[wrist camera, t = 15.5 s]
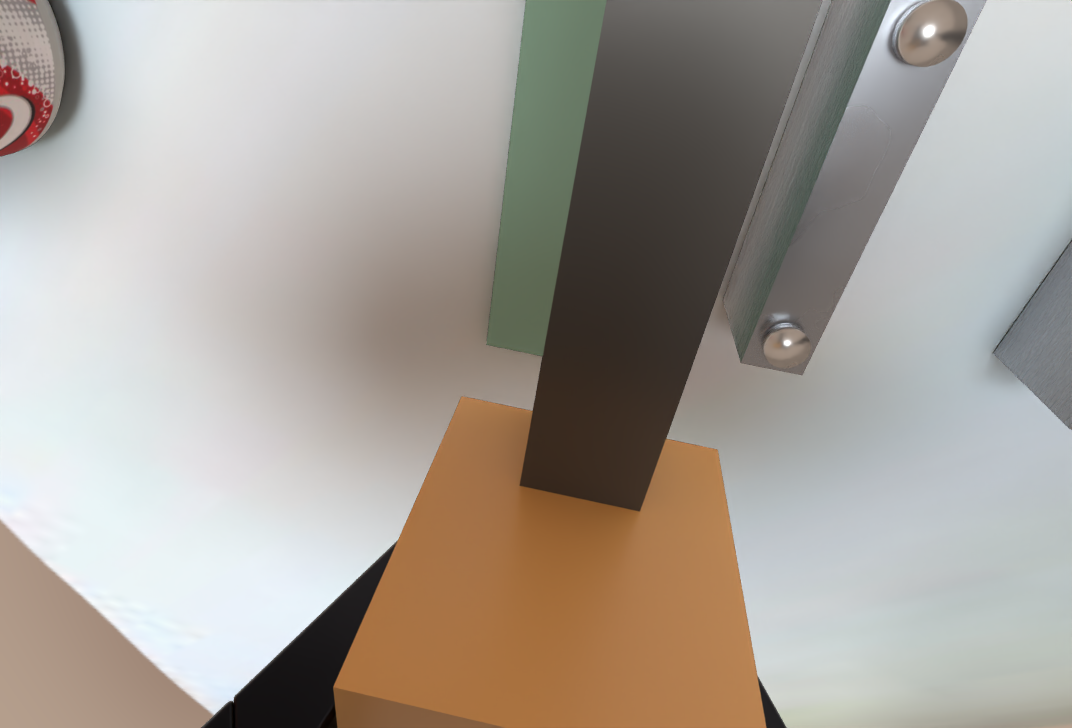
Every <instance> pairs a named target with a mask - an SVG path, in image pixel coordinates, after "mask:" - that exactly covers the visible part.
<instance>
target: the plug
mask: <svg viewBox="0 0 1072 728" xmlns="http://www.w3.org/2000/svg"><path fill="white" fill-rule="evenodd" d="M821 3H822V0H606V6H605V12H604V17H603V23H602V28H601V34H600V39H599V45H598V51H597V56H596V62H595V67H594V73H593V78H592V84H591V90H590V95H589V101H588V106H587V112H586V117H585V123H584V129H583V134H582V140H581V145H580V151H579V156H578V162H577V168H576V173H575V179H574V184H573V190H572V195H571V201H570V207H569V212H568V218H567V223H566V229H565V234H564V240H563V246H562V251H561V257H560V262H559V268H558V274H557V279H556V285H555V290H554V296H553V301H552V307H551V313H550V318H549V324H548V329H547V335H546V340H545V346H544V352H543V357H542V363H541V368H540V374H539V379H538V385H537V391H536V396H535V402H534V407H533V411H530V410H525V409H521V408H516V407H511V406H506V405H502V404H497V403H492V402H487V401H482V400H478V399H473V398H468V397H463V396H462V397H461V399H460V401H459V403H458V406H457V408H456V410H455V412H454V415H453V417H452V419H451V421H450V424H449V426H448V428H447V430H446V433H445V435H444V437H443V440H442V442H441V444H440V446H439V449H438V451H437V453H436V455H435V458H434V460H433V462H432V464H431V467H430V469H429V471H428V474H427V476H426V478H425V480H424V483H423V485H422V487H421V489H420V492H419V494H418V496H417V498H416V501H415V503H414V505H413V508H412V510H411V512H410V514H409V517H408V519H407V521H406V523H405V526H404V528H403V530H402V532H401V535H400V537H399V539H398V541H397V544H396V546H395V548H394V551H393V553H392V555H391V557H390V560H389V562H388V564H387V566H386V569H385V571H384V573H383V575H382V578H381V580H380V582H379V585H378V587H377V589H376V591H375V594H374V596H373V598H372V600H371V603H370V605H369V607H368V609H367V612H366V614H365V616H364V618H363V621H362V623H361V625H360V628H359V630H358V632H357V634H356V637H355V639H354V641H353V643H352V646H351V648H350V650H349V652H348V655H347V657H346V659H345V662H344V664H343V666H342V668H341V671H340V673H339V675H338V677H337V680H336V682H335V684H334V686H333V690H334V699H335V709H336V718H337V728H766V723H765V717H764V711H763V706H762V700H761V694H760V688H759V683H758V677H757V671H756V666H755V660H754V654H753V648H752V643H751V637H750V631H749V626H748V620H747V614H746V609H745V603H744V597H743V591H742V586H741V580H740V574H739V569H738V563H737V557H736V551H735V546H734V540H733V534H732V529H731V523H730V517H729V512H728V506H727V500H726V494H725V489H724V483H723V477H722V472H721V466H720V460H719V454H718V450H717V449H712V448H708V447H703V446H698V445H693V444H688V443H684V442H679V441H674V440H669V439H666V437H667V435H668V432H669V429H670V426H671V423H672V421H673V418H674V415H675V412H676V409H677V407H678V404H679V401H680V398H681V395H682V393H683V390H684V387H685V384H686V381H687V379H688V376H689V373H690V370H691V367H692V365H693V362H694V359H695V356H696V353H697V351H698V348H699V345H700V342H701V339H702V337H703V334H704V331H705V328H706V325H707V323H708V320H709V317H710V314H711V311H712V309H713V306H714V303H715V300H716V297H717V295H718V292H719V289H720V286H721V283H722V281H723V278H724V275H725V272H726V269H727V267H728V264H729V261H730V258H731V255H732V253H733V250H734V247H735V244H736V241H737V238H738V236H739V233H740V230H741V227H742V224H743V222H744V219H745V216H746V213H747V210H748V208H749V205H750V202H751V199H752V196H753V194H754V191H755V188H756V185H757V182H758V180H759V177H760V174H761V171H762V168H763V166H764V163H765V160H766V157H767V154H768V152H769V149H770V146H771V143H772V140H773V138H774V135H775V132H776V129H777V126H778V124H779V121H780V118H781V115H782V112H783V110H784V107H785V104H786V101H787V98H788V96H789V93H790V90H791V87H792V84H793V82H794V79H795V76H796V73H797V70H798V68H799V65H800V62H801V59H802V56H803V54H804V51H805V48H806V45H807V42H808V40H809V37H810V34H811V31H812V28H813V26H814V23H815V20H816V17H817V14H818V12H819V9H820V6H821Z"/></svg>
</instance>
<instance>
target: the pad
mask: <svg viewBox="0 0 1072 728" xmlns="http://www.w3.org/2000/svg"><path fill="white" fill-rule="evenodd" d="M605 6H606V0H526V4H525V13H524V22H523V31H522V39H521V48H520V57H519V65H518V74H517V83H516V92H515V100H514V109H513V118H512V126H511V135H510V144H509V152H508V161H507V170H506V179H505V187H504V196H503V205H502V213H501V222H500V231H499V240H498V248H497V257H496V266H495V274H494V283H493V292H492V301H491V309H490V318H489V327H488V335H487V344H486V345H490V346H495V347H500V348H505V349H510V350H515V351H519V352H524V353H529V354H534V355H539V356H543V352H544V346H545V340H546V335H547V329H548V324H549V318H550V313H551V307H552V301H553V296H554V290H555V285H556V279H557V274H558V268H559V262H560V257H561V251H562V246H563V240H564V234H565V229H566V223H567V218H568V212H569V207H570V201H571V195H572V190H573V184H574V179H575V173H576V168H577V162H578V156H579V151H580V145H581V140H582V134H583V129H584V123H585V117H586V112H587V106H588V101H589V95H590V90H591V84H592V78H593V73H594V67H595V62H596V56H597V51H598V45H599V39H600V34H601V28H602V23H603V17H604V12H605Z"/></svg>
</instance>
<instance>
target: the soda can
mask: <svg viewBox="0 0 1072 728" xmlns="http://www.w3.org/2000/svg"><path fill="white" fill-rule="evenodd" d="M64 78H65V62H64V52H63V45H62V40H61V36H60V32H59V28H58V25H57V22H56V19H55V16H54V13H53V11H52V8H51V6H50V4H49V1H48V0H0V156H4V155H8V154H11V153H15V152H17V151H20V150H23V149H25V148H27V147H29V146H31V145H33V144H34V143H36V142H37V141H38V140H39V139H40V138H41V137H42V136H43V135H44V134H45V133H46V132H47V130H48V129H49V128H50V126H51V124H52V123H53V121H54V119H55V117H56V115H57V112H58V109H59V105H60V101H61V96H62V91H63V86H64Z"/></svg>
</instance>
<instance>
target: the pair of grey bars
mask: <svg viewBox="0 0 1072 728" xmlns="http://www.w3.org/2000/svg"><path fill="white" fill-rule="evenodd" d="M986 1H987V0H832V3H831V6H830V8H829V11H828V14H827V16H826V19H825V22H824V25H823V27H822V30H821V33H820V36H819V38H818V41H817V44H816V47H815V49H814V52H813V55H812V57H811V60H810V63H809V66H808V68H807V71H806V74H805V77H804V79H803V82H802V85H801V88H800V90H799V93H798V96H797V98H796V101H795V104H794V107H793V109H792V112H791V115H790V118H789V120H788V123H787V126H786V128H785V131H784V134H783V137H782V139H781V142H780V145H779V148H778V150H777V153H776V156H775V159H774V161H773V164H772V167H771V169H770V172H769V175H768V178H767V180H766V183H765V186H764V189H763V191H762V194H761V197H760V200H759V202H758V205H757V208H756V210H755V213H754V216H753V219H752V221H751V224H750V227H749V230H748V232H747V235H746V238H745V241H744V243H743V246H742V249H741V251H740V254H739V257H738V260H737V262H736V265H735V268H734V271H733V273H732V276H731V279H730V281H729V284H728V287H727V290H726V292H725V295H724V298H723V303H724V306H725V310H726V313H727V316H728V320H729V323H730V327H731V330H732V334H733V337H734V341H735V344H736V348H737V351H738V355H739V358H740V361H741V363H744V364H749V365H754V366H759V367H764V368H769V369H774V370H779V371H784V372H789V373H794V374H799V375H802V374H803V372H804V370H805V368H806V366H807V364H808V362H809V360H810V358H811V356H812V354H813V352H814V350H815V348H816V346H817V344H818V342H819V340H820V338H821V336H822V334H823V332H824V330H825V328H826V326H827V324H828V322H829V320H830V317H831V315H832V313H833V311H834V309H835V307H836V305H837V303H838V301H839V299H840V297H841V295H842V293H843V291H844V289H845V287H846V285H847V283H848V281H849V279H850V277H851V275H852V273H853V271H854V269H855V267H856V265H857V263H858V261H859V259H860V257H861V255H862V252H863V250H864V248H865V246H866V244H867V242H868V240H869V238H870V236H871V234H872V232H873V230H874V228H875V226H876V224H877V222H878V220H879V218H880V216H881V214H882V212H883V210H884V208H885V206H886V204H887V202H888V200H889V198H890V196H891V194H892V192H893V190H894V188H895V185H896V183H897V181H898V179H899V177H900V175H901V173H902V171H903V169H904V167H905V165H906V163H907V161H908V159H909V157H910V155H911V153H912V151H913V149H914V147H915V145H916V143H917V141H918V139H919V137H920V135H921V133H922V131H923V129H924V127H925V125H926V123H927V120H928V118H929V116H930V114H931V112H932V110H933V108H934V106H935V104H936V102H937V100H938V98H939V96H940V94H941V92H942V90H943V88H944V86H945V84H946V82H947V80H948V78H949V76H950V74H951V72H952V70H953V68H954V66H955V64H956V62H957V60H958V58H959V56H960V53H961V51H962V49H963V47H964V45H965V43H966V41H967V39H968V37H969V35H970V33H971V31H972V29H973V27H974V25H975V23H976V21H977V19H978V17H979V15H980V13H981V11H982V9H983V7H984V5H985V3H986ZM994 354H995V355H996V356H997V357H998V358H999V359H1000V360H1001V361H1002V362H1003V363H1004V364H1005V365H1006V366H1007V367H1008V368H1009V369H1010V370H1011V371H1012V372H1013V373H1014V374H1015V375H1016V376H1017V377H1018V378H1019V379H1020V380H1021V381H1022V382H1023V383H1024V384H1025V385H1026V386H1027V387H1028V388H1029V389H1030V390H1031V391H1032V392H1033V393H1034V394H1035V395H1036V396H1037V397H1038V398H1039V399H1040V400H1041V401H1042V402H1043V403H1044V404H1045V405H1046V406H1047V407H1048V408H1049V409H1050V410H1051V411H1052V412H1053V413H1054V414H1055V415H1056V416H1057V417H1058V418H1059V419H1060V420H1061V421H1062V422H1063V423H1064V424H1065V425H1066V426H1067V427H1068V428H1069V429H1072V242H1071V243H1070V244H1069V246H1068V247H1067V249H1066V250H1065V252H1064V253H1063V254H1062V256H1061V257H1060V259H1059V260H1058V262H1057V263H1056V264H1055V266H1054V267H1053V269H1052V270H1051V272H1050V273H1049V274H1048V276H1047V277H1046V279H1045V280H1044V282H1043V283H1042V284H1041V286H1040V287H1039V289H1038V290H1037V292H1036V293H1035V294H1034V296H1033V297H1032V299H1031V300H1030V301H1029V303H1028V304H1027V306H1026V307H1025V309H1024V310H1023V311H1022V313H1021V314H1020V316H1019V317H1018V319H1017V320H1016V321H1015V323H1014V324H1013V326H1012V327H1011V329H1010V330H1009V331H1008V333H1007V334H1006V336H1005V337H1004V339H1003V340H1002V341H1001V343H1000V344H999V346H998V347H997V349H996V350H995V351H994Z"/></svg>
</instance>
